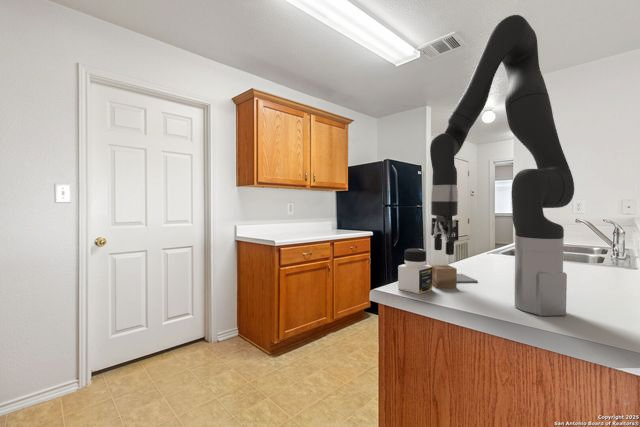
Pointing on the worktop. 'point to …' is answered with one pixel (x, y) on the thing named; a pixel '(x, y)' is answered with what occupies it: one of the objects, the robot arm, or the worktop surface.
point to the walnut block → (444, 276)
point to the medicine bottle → (415, 272)
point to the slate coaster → (465, 279)
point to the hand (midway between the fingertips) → (443, 252)
